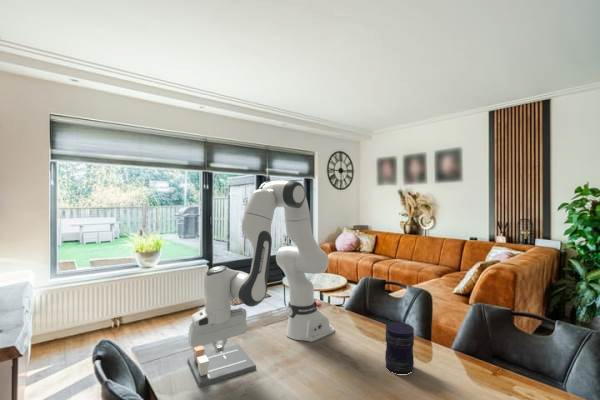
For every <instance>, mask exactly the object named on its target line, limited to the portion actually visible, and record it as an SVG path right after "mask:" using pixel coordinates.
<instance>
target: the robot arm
mask: <svg viewBox="0 0 600 400" xmlns="http://www.w3.org/2000/svg"><path fill="white" fill-rule="evenodd" d="M282 207H283V209H284V222H285V230H286V236H287V238H288V239H289V240H290V241H291V242H293V244H294V245H295V246H294V245H287V246H281V247H280V248H279V249H278V250H277V252H276V255H275V261H276V264H277V266H278V267H280V269H281V270H282V271H283V274H284V275H285V278H286V280H287V284H288V294H289V296H288V298H289V299H288V300H289V301H288V302H287V303H288V304H287V305H288V306H287V311H288V321H287V326H286V330H285V335H286V336H287V337H288V338H290V339H293V340H296V341H297V340H298V341H307V342H315V341H317V340H320V339H322V338H324V337H327V336H328V335H330V334H333V333H334V332H335V328H334V326H333V325H331V324H330V321H329V317H328V316H327V314H325V313H324V312H322V311H321V310H319V309H320V308H321V307H322V304H321V302H318V301H315V296H314V295H315V287H314V286H315V285H314V284H313V282H312V281H311V280H310V279H309V278H308V277H307V275H306V274H309V275H310V274H311V275H315V274H317V275H320V274H323V273H325V272H326V271H327V269H328V268H329V263H330V260H329V256H328V254H327V253H326V251H324V250H323V248H321V247H320V246H319V244H318V243H317V241H316V239H315V237H314V234H313V230H312V223H311V213H310V208H309V203H308V199H307V197H306V190H305V187H304V186H303V184H302V183H301V182H299V181H296V180H287V179H278V180H267V181H264V182H263V183H261V184H260V186H259V187H258V189H256V190H254V191H253V193H252V194H251V195H250V197H249V199H248V203H247V205H246V207H245V210H244V213H243V216H242V220H241V231H242V233H243V235H244V236H245V238H246V239H247V240H248V241H249V243H251V245H252V248H253V249H252V250H253V254H252V260H251V267H250V272H249V273H247V272H245V271H242V270H235V269H231V268H229V267H227V266H226V265H217V266H213V267H211V268H210V269H208V270H207V271H206V272H205V275H204V285H203V287H204V288H203V290H204V292H203V293H204V294H203V295H204V297H205V302H204V303H205V304H204V308H202V309H201V310H199V311H196V312H194V313H193V314H192V315H191V316H190V317H191V318H190V319H191V321H192V322H191V323H190V325H189V327H188V328H189V329H188V344H189V346H190V347H192V349H193V348H194V347H198V346H201V345H202V346H204V345H208V344H211V345H212V346H213V347H214V350H215V352H216V353H218V352H222V351H224V348H225V346H226V345H227V342H228V339H230V338H233V337H238V336H241V335H245V334H246V333H247V331H248V324H247V310H246V309H245V308H244V307H239V308H236V309H232V306H231V305H232V304H231V303H232V300H235V299H236V300H238V301H240V302H241V303H242V304H244V305H245V306H247V307H251V308H252V307H255V306H256V307H257V306H258V305H259V304H261V303H262V302H263V301H264V299H265V298H266V297H267V294H268V272H269V266H270V260H271V259H270V258H271V254H272V253H271V252H272V246H273V244H272V243H273V239H272V236H271V229H272V228H271V227H272V223H273V219H274V214H275V210H276V209H277V208H282ZM318 308H319V309H318ZM219 341H221V344H218V345H217V342H219Z"/></svg>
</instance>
